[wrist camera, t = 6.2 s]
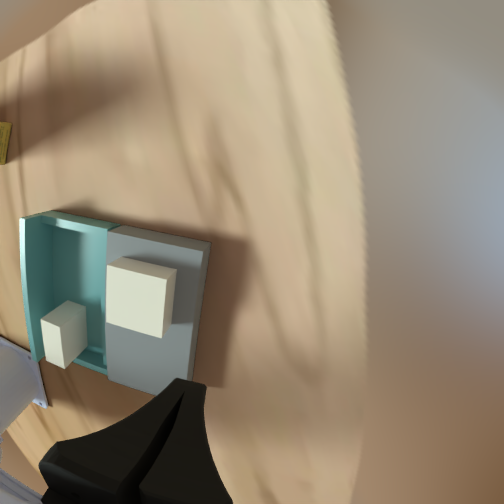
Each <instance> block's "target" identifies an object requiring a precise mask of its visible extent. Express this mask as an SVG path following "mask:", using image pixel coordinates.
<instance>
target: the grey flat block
mask: <svg viewBox="0 0 504 504" xmlns="http://www.w3.org/2000/svg"><path fill="white" fill-rule="evenodd" d="M210 248H211V242H206V241H201V240H196V239H191V238H186V237H181V236H176V235H171V234H166V233H161V232H156V231H151V230H146V229H141V228H137V227H132V226H127V225H123V226H120V227H118V228H115V229H112V230H110V231H108V233H107V249H106V271H105V338H106V359H107V374H108V380H110V381H113V382H116V383H119V384H122V385H124V386H127V387H130V388H133V389H136V390H140V391H143V392H146V393H149V394H152V395H156V396H157V395H158V394H159V393H160V392H161V391H163V390H164V389H165V388H166V387H167V386H168V385H169V384H170V383H171V382H172V381H173V380H174V379H175V378H181V379H184V380H188V381H192V378H193V369H194V361H195V353H196V345H197V338H198V330H199V322H200V315H201V308H202V301H203V294H204V287H205V280H206V274H207V267H208V261H209V254H210ZM120 257H125V258H130V259H134V260H138V261H142V262H147V263H151V264H155V265H160V266H164V267H168V268H173V269H177V274H176V282H175V292H174V301H173V311H172V322H171V326H170V327H169V328H168V330H167V331H166V333H165V334H164V336H163V337H162V338H158V337H155V336H151V335H148V334H144V333H141V332H137V331H134V330H130V329H127V328H124V327H120V326H117V325H114V324H111V323H108V322H106V280H107V265H108V264H109V263H111V262H113V261H115V260H116V259H118V258H120Z"/></svg>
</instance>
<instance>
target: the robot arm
mask: <svg viewBox="0 0 504 504" xmlns="http://www.w3.org/2000/svg"><path fill="white" fill-rule="evenodd" d="M206 389H207V387H206V386H205V385H204V384H200V383H196V382H192V381H188V380H184V379H181V378H175V379H174V380H173V381H172V382H171V383H170V384H169V385H168V386H167V387H166V388H165V389H164V390H163V391H161V392H160V393H159V394H158V395H157V396H156V397H154V398H153V399H152V400H151V401H150V402H148V403H147V404H146V405H144V406H143V407H142V408H140V409H139V410H137V411H136V412H134V413H133V414H131V415H130V416H128V417H126V418H125V419H123V420H121V421H119V422H117V423H115V424H113V425H111V426H109V427H107V428H105V429H102V430H100V431H97V432H94V433H91V434H88V435H85V436H82V437H79V438H75V439H70V440H65V441H59V442H56V443H55V444H54V445H53V446H52V447H51V448H50V449H49V450H48V452H47V453H46V454H45V456H44V457H43V458H42V460H41V461H40V463H39V469H40V472H41V474H42V476H43V478H44V480H45V482H46V483H47V485H48V487H49V488H48V489H47V491H46V492H45V494H44V495H43V496H42V495H40V494H39V493H37V492H35V491H34V490H32V489H30V488H29V487H27V486H26V485H24V484H23V483H21V482H20V481H18V480H17V479H15V478H14V477H12V476H11V475H9V474H8V473H6V472H5V471H4V470H2V469H1V468H0V504H233V501H232V499H231V497H230V495H229V494H228V492H227V490H226V488H225V486H224V484H223V482H222V480H221V478H220V476H219V473H218V471H217V468H216V466H215V463H214V461H213V458H212V454H211V451H210V447H209V444H208V439H207V434H206V428H205V420H204V402H205V395H206ZM31 402H34V403H36V404H38V405H40V406H41V407H43V408H46V409H47V408H48V402H47V399H46V395H45V391H44V387H43V382H42V378H41V373H40V369H39V364H38V362H36V361H34V360H32V354H31V352H29V351H27V350H25V349H23V348H21V347H19V346H17V345H15V344H13V343H11V342H9V341H8V340H6V339H4V338H2V337H0V435H1V434H2V433H3V432H4V431H5V430H6V429H7V428H8V427H9V425H10V424H11V423H12V422H13V421H14V420H15V419H16V418H17V417H18V416H19V415H20V414H21V412H22V411H23V410H24V409H25V408H26V407H27V406H28V405H29V404H30V403H31ZM2 441H3V439H2V437H1V436H0V444H1V442H2ZM1 459H2V449H1V447H0V463H1Z"/></svg>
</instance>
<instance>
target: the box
mask: <svg viewBox="0 0 504 504" xmlns="http://www.w3.org/2000/svg"><path fill="white" fill-rule="evenodd" d="M120 225H121V224H117V223H112V222H107V221H102V220H97V219H92V218H87V217H82V216H77V215H72V214H67V213H62V212H57V211H52V210H51V211H46V212H42V213H38V214H34V215H30V216H26V217H22V218H20V263H21V280H22V292H23V301H24V310H25V318H26V325H27V332H28V338H29V344H30V349H31V354H32V360H34V361H36V362H38V361H40V360H41V359H42V358H43V357H44V356H45V349H44V343H43V336H42V328H41V318H43V317H44V316H45V315H47V314H48V313H50V312H51V311H53V310H54V309H55V308H57V307H58V306H60V305H61V304H63V303H64V302H66V301H67V300H69V301H71V302H74V303H77V304H80V305H83V306H86V322H87V341H88V346H87V347H86V348H85V349H84V350H83V351H82V352H81V353H80V354H79V355H78V356H77V357H76V358H75V359H74V360H73V361H72V362H74V363H77V364H79V365H82V366H84V367H87V368H89V369H92V370H94V371H97V372H100V373H102V374H105V375H108V374H107V359H106V338H105V271H106V249H107V233H108V231H110V230H112V229H115V228H118V227H120Z"/></svg>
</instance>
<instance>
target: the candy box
mask: <svg viewBox="0 0 504 504" xmlns="http://www.w3.org/2000/svg"><path fill="white" fill-rule="evenodd" d="M11 127H12V123H8V122H0V165H4V164H5V161H6V156H7V149H8V143H9V138H10V132H11Z"/></svg>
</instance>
